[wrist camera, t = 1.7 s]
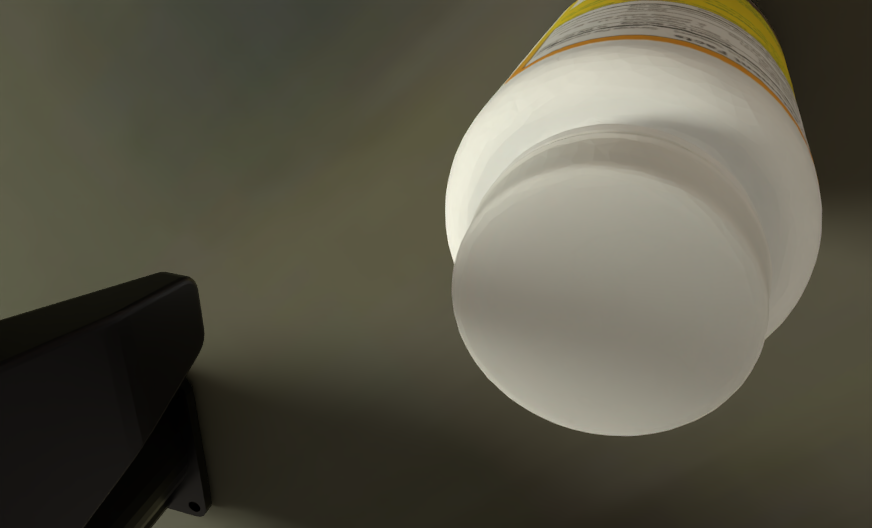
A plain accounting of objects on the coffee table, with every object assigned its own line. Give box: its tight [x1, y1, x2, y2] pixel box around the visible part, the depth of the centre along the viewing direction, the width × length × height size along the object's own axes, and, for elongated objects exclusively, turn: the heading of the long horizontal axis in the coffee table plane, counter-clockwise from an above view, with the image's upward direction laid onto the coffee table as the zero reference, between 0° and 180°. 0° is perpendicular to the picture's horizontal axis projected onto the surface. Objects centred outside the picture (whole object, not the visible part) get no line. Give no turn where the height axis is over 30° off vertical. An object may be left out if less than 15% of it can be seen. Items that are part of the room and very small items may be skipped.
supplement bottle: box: [445, 0, 822, 436], centre depth 14 cm, size 6×6×10 cm
